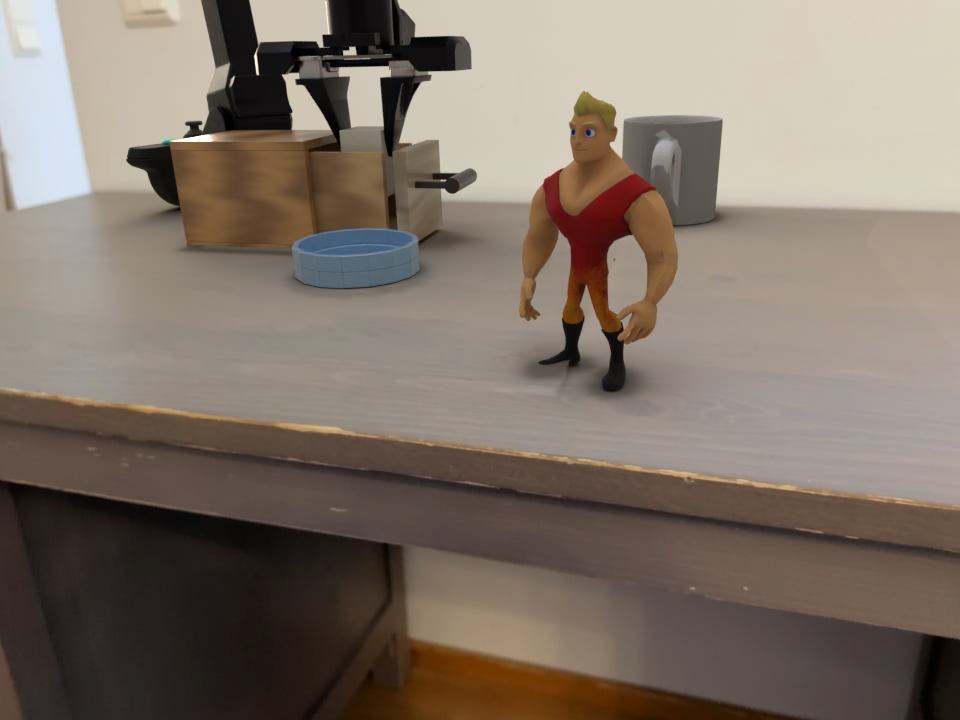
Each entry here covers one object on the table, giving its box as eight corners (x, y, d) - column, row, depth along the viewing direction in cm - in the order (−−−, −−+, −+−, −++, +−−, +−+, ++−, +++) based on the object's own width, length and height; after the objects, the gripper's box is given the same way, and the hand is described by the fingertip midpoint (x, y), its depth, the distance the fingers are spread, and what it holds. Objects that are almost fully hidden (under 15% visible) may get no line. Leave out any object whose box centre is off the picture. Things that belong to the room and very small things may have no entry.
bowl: (329, 259, 70) (326, 226, 69) (435, 264, 67) (433, 229, 66) (273, 291, 61) (269, 253, 60) (394, 297, 58) (391, 258, 57)
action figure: (499, 364, 45) (494, 91, 40) (536, 347, 48) (536, 88, 42) (644, 406, 39) (661, 93, 34) (677, 384, 42) (699, 89, 36)
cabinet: (361, 230, 81) (352, 129, 78) (315, 254, 72) (303, 141, 68) (245, 226, 85) (231, 130, 81) (187, 249, 75) (169, 141, 72)
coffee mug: (638, 204, 90) (642, 114, 86) (725, 211, 85) (733, 115, 82) (593, 227, 79) (595, 125, 76) (689, 235, 75) (697, 127, 71)
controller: (234, 200, 101) (222, 119, 97) (156, 217, 91) (139, 129, 87) (210, 198, 103) (198, 119, 99) (131, 215, 93) (114, 128, 89)
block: (345, 197, 73) (339, 130, 70) (361, 190, 76) (356, 126, 74) (385, 198, 72) (380, 130, 69) (400, 190, 75) (396, 126, 73)
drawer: (483, 226, 77) (480, 139, 74) (455, 248, 69) (452, 151, 66) (328, 221, 81) (320, 139, 78) (285, 242, 73) (274, 151, 70)
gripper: (485, -28, 72) (488, 146, 77) (301, -18, 76) (317, 145, 82) (449, -40, 62) (456, 161, 67) (240, -28, 66) (264, 159, 72)
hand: (370, 156), depth 73 cm, fingers closed on block, 4 cm apart
